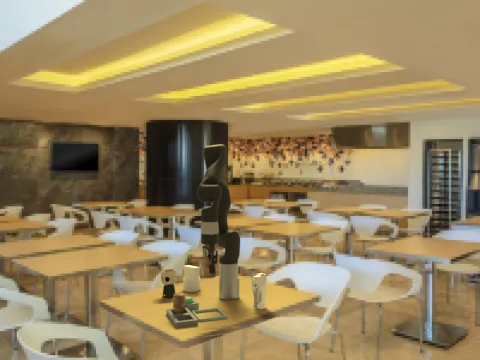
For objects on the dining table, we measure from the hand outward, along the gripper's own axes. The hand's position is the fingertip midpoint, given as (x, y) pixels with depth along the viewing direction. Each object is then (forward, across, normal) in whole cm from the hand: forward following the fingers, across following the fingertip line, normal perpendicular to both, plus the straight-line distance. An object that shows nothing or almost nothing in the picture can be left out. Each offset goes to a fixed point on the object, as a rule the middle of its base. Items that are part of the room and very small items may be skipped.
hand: (210, 271), depth 194 cm
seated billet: (+19, -4, -13) cm, 23 cm away
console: (+20, -13, -6) cm, 25 cm away
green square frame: (+20, 0, -1) cm, 20 cm away
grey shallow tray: (+19, 0, -13) cm, 23 cm away
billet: (+2, 0, 0) cm, 2 cm away
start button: (+19, -13, -6) cm, 24 cm away
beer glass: (+20, -6, +25) cm, 33 cm away
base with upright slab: (+20, -47, +5) cm, 51 cm away
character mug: (+20, -38, -9) cm, 44 cm away
